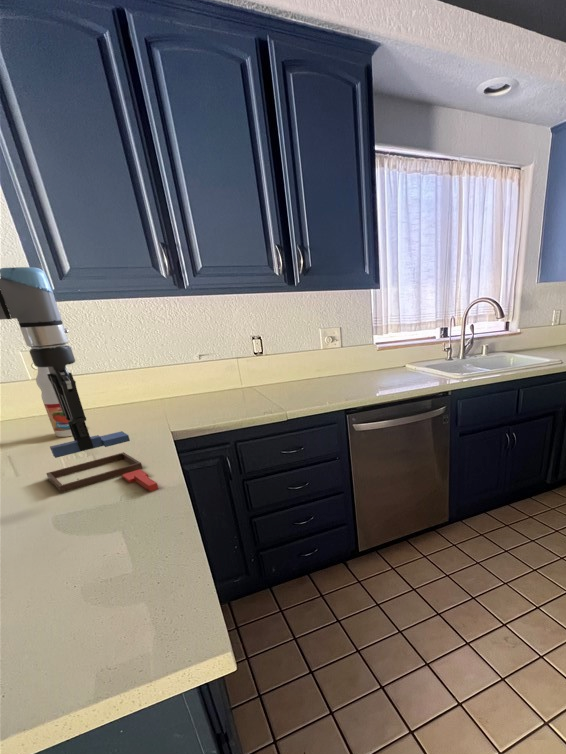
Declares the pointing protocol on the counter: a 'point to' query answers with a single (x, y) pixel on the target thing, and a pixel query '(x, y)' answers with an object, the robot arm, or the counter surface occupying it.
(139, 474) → the red t-shaped block
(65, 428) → the fruit juice
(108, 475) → the tray
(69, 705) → the counter surface
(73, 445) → the blue stepped block
